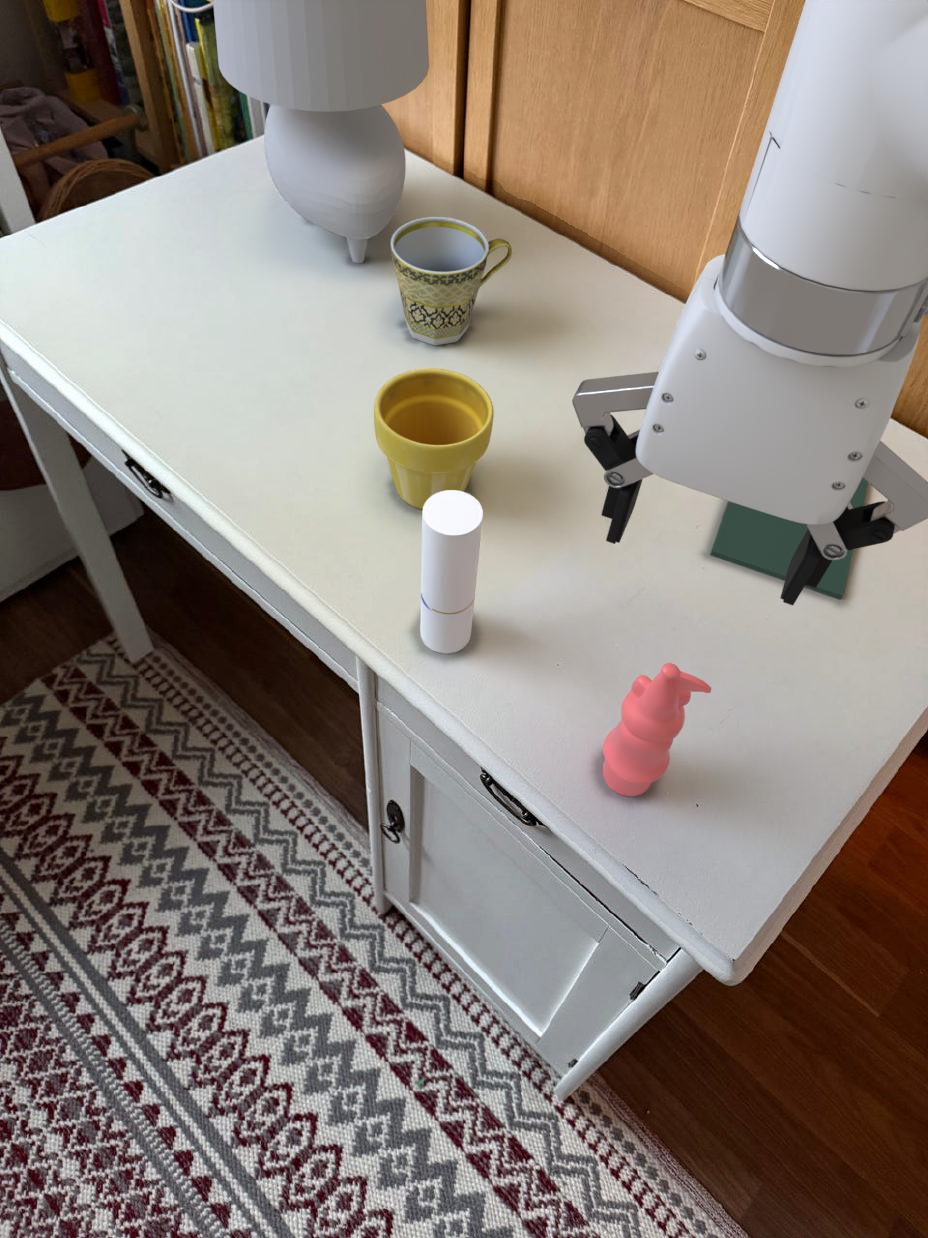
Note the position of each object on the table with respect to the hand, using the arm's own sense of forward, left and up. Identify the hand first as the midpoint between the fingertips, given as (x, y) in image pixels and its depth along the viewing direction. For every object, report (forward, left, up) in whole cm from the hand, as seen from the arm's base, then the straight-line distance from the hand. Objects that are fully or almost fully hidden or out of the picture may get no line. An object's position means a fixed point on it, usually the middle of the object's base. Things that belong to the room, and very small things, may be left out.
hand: (703, 554), depth 49 cm
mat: (-8, -34, -25) cm, 43 cm away
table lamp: (+52, -54, -26) cm, 79 cm away
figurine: (-1, 0, -26) cm, 26 cm away
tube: (+17, -6, -26) cm, 31 cm away
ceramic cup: (+33, -44, -26) cm, 60 cm away
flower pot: (+25, -21, -26) cm, 41 cm away
